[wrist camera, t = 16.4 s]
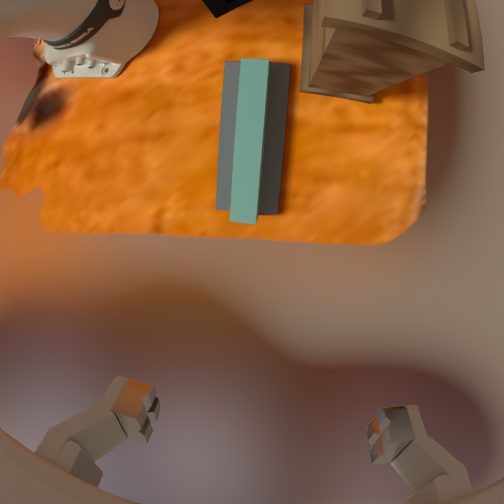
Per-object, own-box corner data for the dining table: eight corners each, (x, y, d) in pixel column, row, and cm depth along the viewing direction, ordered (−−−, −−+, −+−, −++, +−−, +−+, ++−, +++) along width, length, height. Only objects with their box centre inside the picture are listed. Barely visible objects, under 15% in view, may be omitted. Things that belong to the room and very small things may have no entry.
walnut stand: (299, 92, 34) (326, 9, 9) (304, 9, 29) (320, -120, 4) (369, 103, 34) (493, 68, 8) (371, 21, 28) (456, -76, 3)
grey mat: (216, 208, 42) (215, 209, 42) (225, 62, 34) (225, 61, 33) (277, 214, 42) (277, 215, 41) (290, 65, 33) (290, 64, 32)
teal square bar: (234, 214, 42) (229, 221, 38) (244, 64, 33) (241, 58, 30) (258, 216, 41) (255, 224, 38) (270, 65, 33) (268, 59, 30)
